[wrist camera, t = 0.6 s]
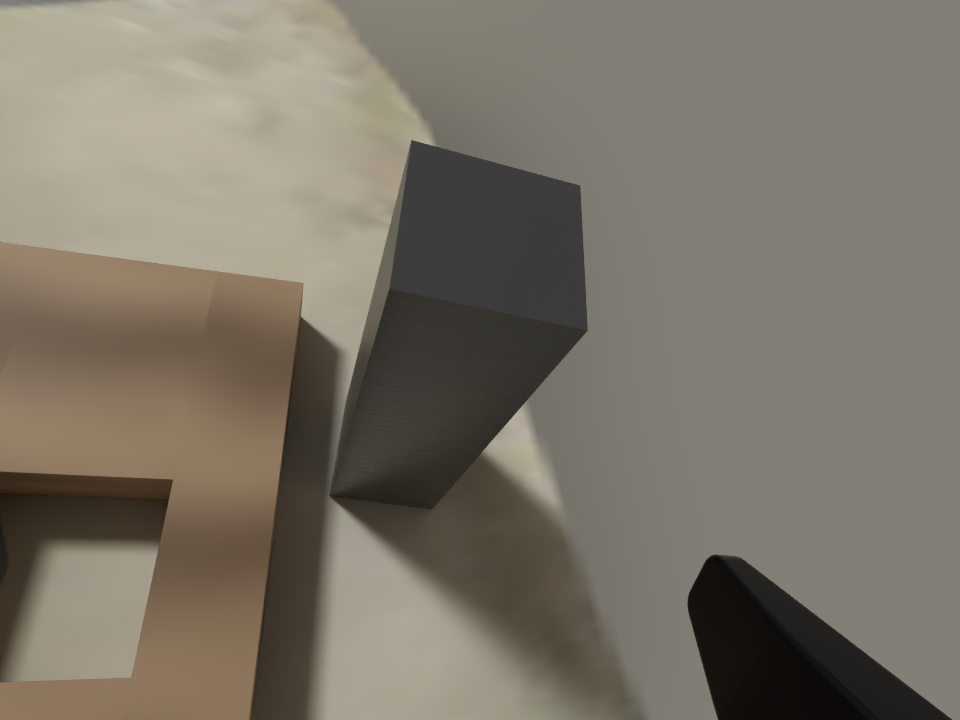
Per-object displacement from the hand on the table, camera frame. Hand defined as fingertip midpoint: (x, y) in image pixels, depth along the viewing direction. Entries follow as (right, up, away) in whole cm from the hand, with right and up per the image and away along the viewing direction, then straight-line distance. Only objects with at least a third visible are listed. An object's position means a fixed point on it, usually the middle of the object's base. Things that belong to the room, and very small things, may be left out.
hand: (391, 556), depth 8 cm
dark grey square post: (-3, -1, +16) cm, 17 cm away
